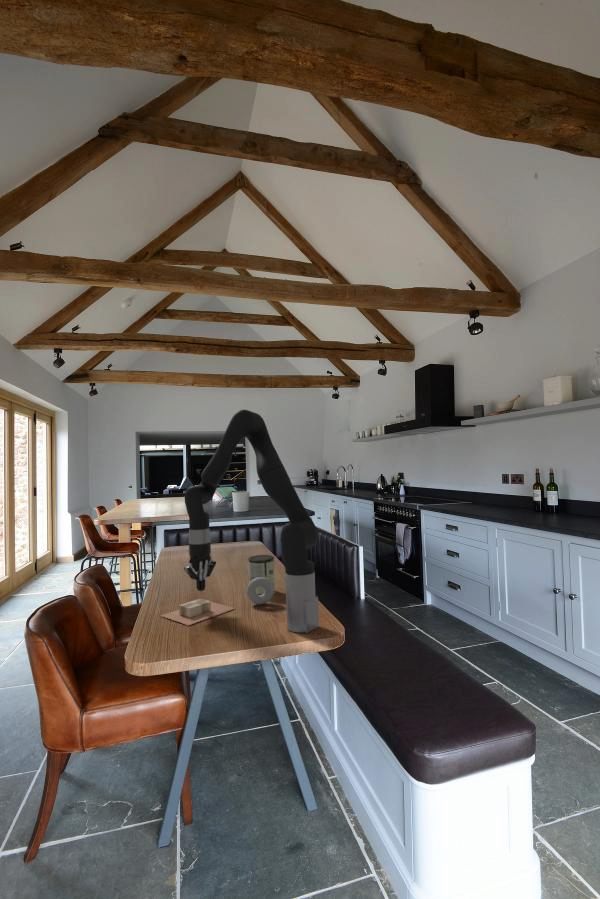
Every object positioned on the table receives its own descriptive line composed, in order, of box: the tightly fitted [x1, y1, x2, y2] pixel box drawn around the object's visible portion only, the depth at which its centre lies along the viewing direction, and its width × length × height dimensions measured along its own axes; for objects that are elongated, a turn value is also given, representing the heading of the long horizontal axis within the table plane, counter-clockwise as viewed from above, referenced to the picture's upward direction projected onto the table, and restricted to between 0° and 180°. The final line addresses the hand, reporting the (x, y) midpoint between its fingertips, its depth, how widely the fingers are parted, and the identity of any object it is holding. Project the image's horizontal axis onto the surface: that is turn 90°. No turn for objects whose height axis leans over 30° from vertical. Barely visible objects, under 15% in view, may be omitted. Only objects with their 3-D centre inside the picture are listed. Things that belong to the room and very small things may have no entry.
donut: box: [246, 577, 274, 605], centre depth 163 cm, size 10×3×10 cm, turn 98°
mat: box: [160, 601, 236, 627], centre depth 156 cm, size 16×20×1 cm
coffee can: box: [247, 554, 276, 595], centre depth 178 cm, size 10×10×14 cm
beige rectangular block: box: [178, 598, 212, 618], centre depth 155 cm, size 6×3×9 cm
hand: (201, 590), depth 157 cm, fingers closed
